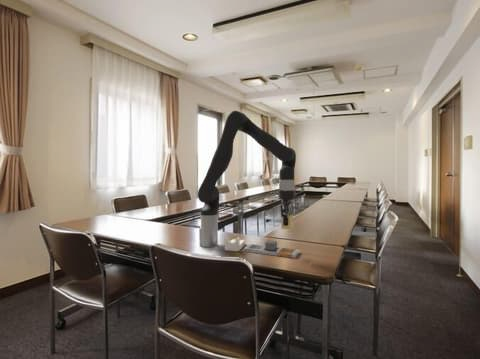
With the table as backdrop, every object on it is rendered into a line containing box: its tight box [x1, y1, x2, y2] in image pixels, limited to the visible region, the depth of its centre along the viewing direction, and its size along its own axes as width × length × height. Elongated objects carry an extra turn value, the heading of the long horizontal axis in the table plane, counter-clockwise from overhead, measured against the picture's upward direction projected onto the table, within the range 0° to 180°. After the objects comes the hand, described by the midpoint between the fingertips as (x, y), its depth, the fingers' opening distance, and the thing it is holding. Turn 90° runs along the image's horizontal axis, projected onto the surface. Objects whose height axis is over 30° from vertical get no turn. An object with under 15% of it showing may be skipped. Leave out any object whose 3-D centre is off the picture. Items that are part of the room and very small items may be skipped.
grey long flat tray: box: [243, 243, 300, 259], centre depth 136 cm, size 26×9×3 cm, turn 65°
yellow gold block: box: [280, 213, 294, 230], centre depth 132 cm, size 4×4×6 cm
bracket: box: [224, 236, 246, 252], centre depth 145 cm, size 13×7×8 cm, turn 164°
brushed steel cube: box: [264, 240, 278, 252], centre depth 136 cm, size 4×4×5 cm
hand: (287, 224), depth 132 cm, fingers closed on yellow gold block, 4 cm apart
